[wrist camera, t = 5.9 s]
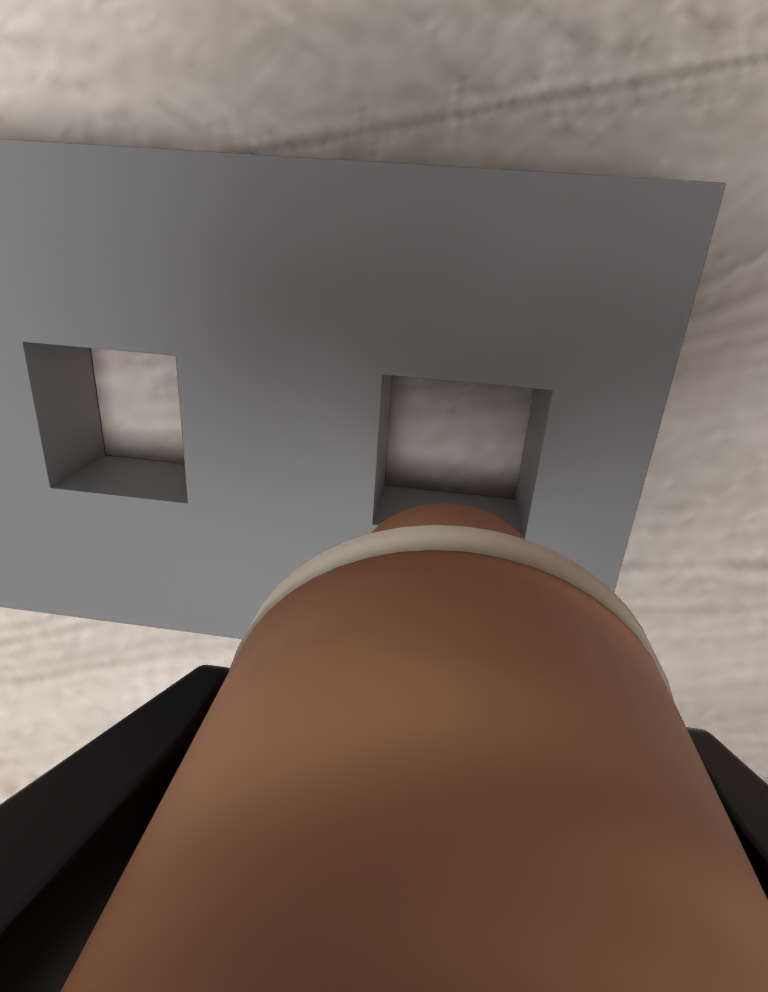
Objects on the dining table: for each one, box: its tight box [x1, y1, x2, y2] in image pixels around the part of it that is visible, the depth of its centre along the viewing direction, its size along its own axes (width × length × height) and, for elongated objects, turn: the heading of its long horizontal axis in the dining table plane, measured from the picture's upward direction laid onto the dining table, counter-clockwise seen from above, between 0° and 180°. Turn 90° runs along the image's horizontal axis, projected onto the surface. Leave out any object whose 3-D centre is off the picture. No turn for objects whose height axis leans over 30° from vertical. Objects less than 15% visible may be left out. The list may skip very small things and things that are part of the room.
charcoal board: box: [0, 139, 726, 639], centre depth 17 cm, size 20×14×3 cm
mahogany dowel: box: [61, 503, 768, 992], centre depth 6 cm, size 6×6×9 cm
